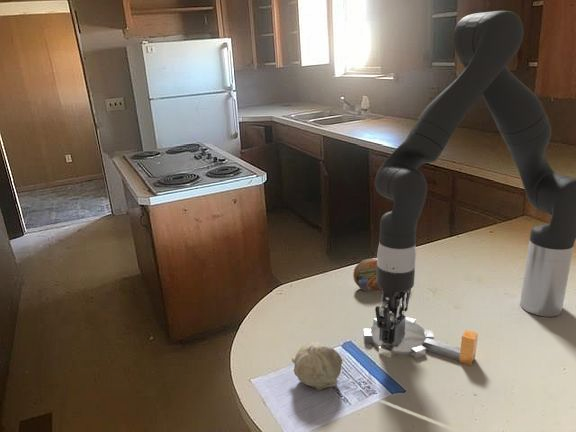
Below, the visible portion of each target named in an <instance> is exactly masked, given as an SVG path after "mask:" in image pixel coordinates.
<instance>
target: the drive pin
mask: <svg viewBox="0 0 576 432" xmlns="http://www.w3.org/2000/svg"><path fill="white" fill-rule="evenodd" d="M478 335H479V333H478V332H475V331H471V330H467V329H465V331H464V332H463V334H462V336H461V343H460V347H458V346H457V345H456V346H455V345H452V344H449V343H446V342H441V341H439V340H435V339H434V340H432V339H429V338H426V340H425V341H424V347H425V348H426V352H430V353H433V354H434V353H435V354H437V355H441V356H444V357H447V358H450V359H453V360H456V361H458V362H459V363H462V364H463V365H467V366H470V367H471V366H473V363H475V359H476V353H477V345H478V339H479V338H478Z"/></svg>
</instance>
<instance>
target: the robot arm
mask: <svg viewBox="0 0 576 432" xmlns="http://www.w3.org/2000/svg"><path fill="white" fill-rule="evenodd" d="M523 37H524V25H523V22H522V19H521V17H520V16H519V15H518V14H516V13H515V12H513V11H509V10H493V11H485V12H483V11H482V12H476V13H470V14H468V15H466V16H464V17H462V18H460V20H459V21H458V22H457V24H456V26H455V28H454V31H453V38H452V39H453V47H454V51H455V54H456V56H457V57H458V59H459V61H460V62H461V65H462V66H463V67H464V69H463V71H462V72H461V73H460V74H459V75H458V76H457V78H455V80H454V81H453V82H452V83H450V84H449V85H448V86H447V87H446V88H444V90H443V91H442V92H440V93H439V94H438V95H437V96H436V97H434V99H433V100H432V101H431V102H430V103H429V104H428V105H427V106H426V107H425V108H424V110H423V111H422V112H421V114H420V115H419V117H418V118H417V120H416V122H415V124H414V125H413V126H412V128H411V130H410V132H409V133H408V135H407V137H406V139H405V140H404V141H402V143H401V144H399V145H398V146H397V148H395V149H394V151H393V152H392V153H391V154H389V155H388V157H387V158H386V159H385V160H384V161H383V163H382V164H381V165H380V167H379V168H378V171H377V173H376V175H375V179H374V185H375V187H374V188H375V190H376V192H377V194H379V195H380V196H381V197H383V198H386V199H387V200H390V201H391V202H393V205H392V210H391V211H387V212H385V213H384V214H382V216H381V218H380V222H379V235H378V236H379V241H378V248H377V254H376V256H377V257H376V258H377V276H376V282H377V285H378V286H379V287H380V288H382V289H381V290H382V291H383V293H382V294H381V299H380V300H381V305H376V306H375V310H374V311H375V316H376V318H377V325H378V328H381V329H383V334H382V341H383V342H384V343H387V344H392V343H393V338H394V327H395V319H396V318H398V315H399V314H400V315H403V316H405V312H407V311H408V308H409V302H410V295H411V291H412V289H413V287H414V285H415V277H416V276H415V275H416V273H415V272H416V259H417V252H416V251H417V249H416V240H417V225H418V222H419V220H420V217H421V214H422V211H423V209H424V206H425V203H426V199H427V194H428V184H427V180H426V177H425V175H424V174H423V173H422V172H421V171H420V170H417V169H418V168H419V167H420V166H421V165H423V164H428V163H429V164H432V163H433V162H435V161H437V160H438V159H439V157H440V156H441V155H442V153H443V151H444V149H445V148H446V147H447V145H448V143H449V141H450V140H451V138H452V136H453V134H454V133H455V131H456V130H457V129H458V126H459V125H460V124H461V122H462V120H463V119H464V118H465V117H466V115H467V113H469V111H470V110H471V108H472V107H473V106H474V104H475V103H477V101H478V100H479V99H480V98H481V97H482V98H483V100H484V102H485V105H486V106H487V108H488V110H489V112H490V114H491V116H492V118H493V120H494V123H495V125H496V127H497V129H498V132H499V133H500V135H501V138H502V140H503V142H504V143H505V145H506V147H507V149H508V151H509V153H510V156H511V157H512V160H513V163H514V164H515V166H516V168H517V170H518V174H519V177H520V178H521V182H522V186H523V189H524V191H525V192H524V193H525V195H526V197H527V200H528V202H529V204H530V205H531V206H532V207H533V208H534V209H536V210H538V211H540V212H542V213H546V214H549V215H551V219H550V223H549V224H539V225H536V226H533V227H532V228H531V230H530V233H529V241H528V246H527V247H528V248H527V255H526V261H525V269H524V274H523V275H524V276H523V281H522V287H521V293H520V301H519V305H520V306H521V308H522V309H524V311H526V312H528V313H530V314H533V315H536V316H540V317H546V318H547V317H557V316H559V315H561V314H562V312H563V308H564V302H565V297H566V292H567V286H568V280H569V275H570V269H571V266H572V265H571V263H572V257H573V252H574V248H575V247H574V246H575V242H576V177H572V176H569V175H565V174H562V173H557V172H556V171H554V170H553V168H552V167H551V165H550V163H549V162H548V159H547V157H546V151H547V148H548V146H549V143H550V141H551V136H552V125H551V123H550V119H549V117H548V115H547V112H546V110H545V107H544V105H543V104H542V102H541V101H540V99H539V97H538V96H537V95H536V94H535V93H534V92H533V91H532V90H531V89H530V88H528V86H526V84H524V83H523V82H522V81H521V80H520V79H518V77H516V76H515V75H514V74H513V73H512V72H511V71H510V69H509V68H508V67H507V65H508V64H509V63H510V62H511V61H512V59H513V58H514V57H515V55H516V54H517V53H518V51H519V50H520V47H521V44H522V42H523V39H524V38H523ZM390 312H393V313H394V314H393V313H390ZM390 318H391V320H390Z"/></svg>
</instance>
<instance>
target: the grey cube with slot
mask: <svg viewBox="0 0 576 432" xmlns="http://www.w3.org/2000/svg"><path fill="white" fill-rule="evenodd" d="M390 313H393V312H391V311H390ZM393 314H394V313H393ZM406 317H407V316H405V315H404V316H403V315H400V314H399V315H398V318H396V319H395V327H394V338H393V343H392V344H393V345H396V346H397V345H398V344H399V343H400V342H401V340H402V339H403V338H404V334H405V319H406ZM390 320H391V318H390ZM382 334H383V329H381V328H380V332H379V340H380V341H382Z"/></svg>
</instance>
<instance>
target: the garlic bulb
mask: <svg viewBox="0 0 576 432" xmlns="http://www.w3.org/2000/svg"><path fill="white" fill-rule="evenodd" d="M291 362H292V364H294V368H293V372H294V375H295V376H296V377H297V379H298V380H299V382H301V383H304V384H305V385H307V386H310V387H311V388H313V389H316V390H318V391H321V390H323V389H326V388H330V387H334V386H336V385H337V384H338V380H337V379H338V377H339V376H340V374H341V372H342V363H343V359H342V356H341V354H340V353H339V352H338V351H337V350H335V349H334V348H333V347H331V346H327V345H325V344H324V343H322V342H318V341H311V342H307V343H305V344H302V345H301V347H300V348H299V350H298V351H297V353H296V355H295V358H294V357H292V358H291Z"/></svg>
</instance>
